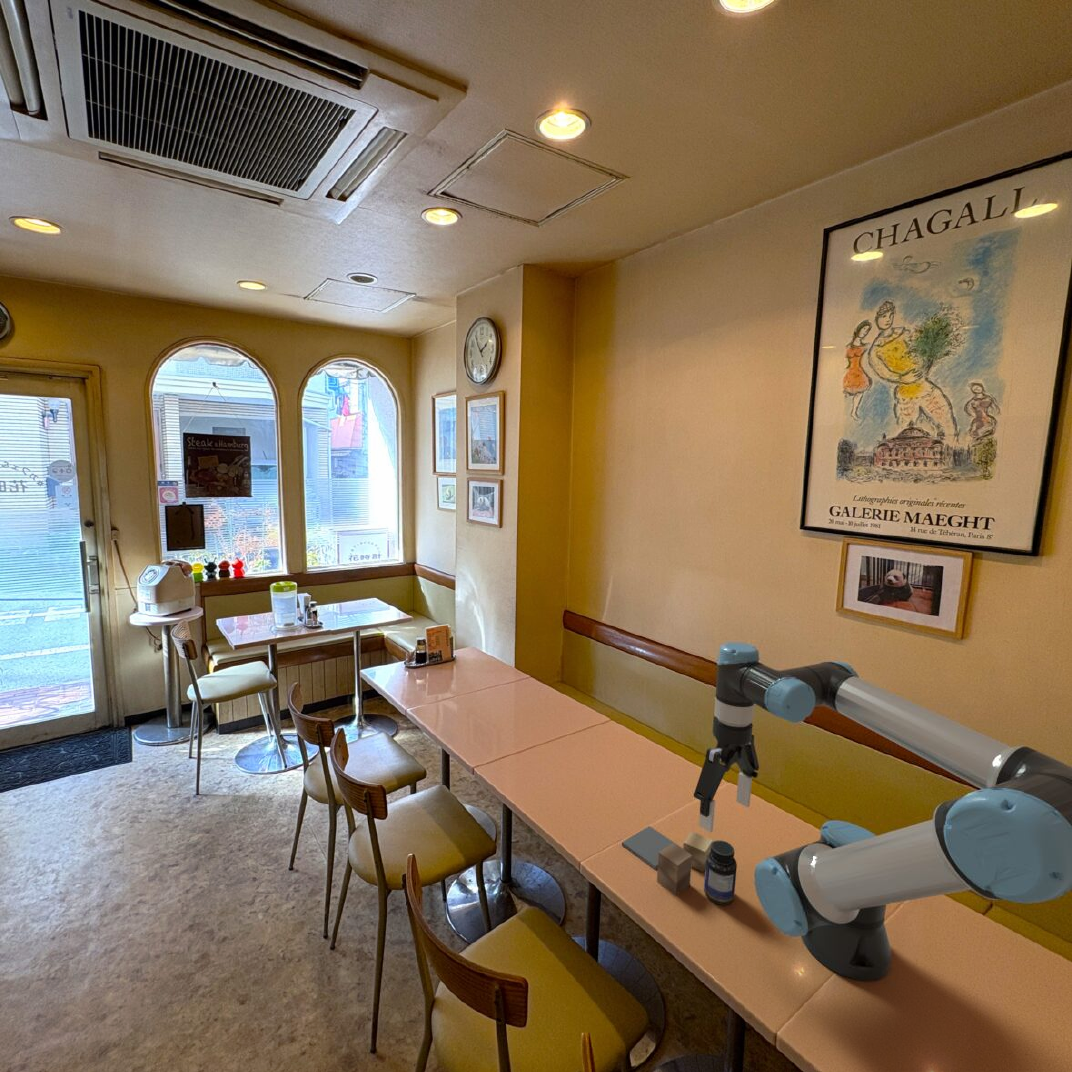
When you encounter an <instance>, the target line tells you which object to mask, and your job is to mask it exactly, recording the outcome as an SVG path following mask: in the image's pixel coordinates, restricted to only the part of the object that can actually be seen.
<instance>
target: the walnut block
mask: <svg viewBox="0 0 1072 1072" xmlns="http://www.w3.org/2000/svg"><path fill="white" fill-rule="evenodd" d="M674 843H675V842H674ZM674 843H672V844H671V845H669V846H668V847H666V848H665V849H663V850H661V851H660V852H659V856H658V868H657V873H656V874H657V875H656V883H658V884H660V885H661V886H662V887H664V888H665V889H666V890H667V891H670V893H672V894H673V895H674V896H677V895H678V894H680V893H681V892H682V891H683V890H685V889H687V888H688V887H689V886H690V885H691V875H692V866H691V864H692V855H691V854H689V853H688V852H686V851H685V850H683V849H682V848H683V847H682V848H680V847H681V846H680V845H679V846H680V847H679V846H677V845H678V844H677V843H676V844H677V845H676V844H674Z"/></svg>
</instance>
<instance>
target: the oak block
mask: <svg viewBox="0 0 1072 1072" xmlns="http://www.w3.org/2000/svg"><path fill="white" fill-rule="evenodd" d="M712 842H714V840H713V839H711V838H709V837H706V836H704V835H702V834H699V833H697V832H694V831H690V833H689V834H688V836H687V837H686V839H685V840H684V842H683V847H682V848H683V850H685V851H686V852H688V853H689V854H691V855H692V864H691V868H694V869H697V870H699V871H700V872H705V870H706V858H707V855H708V853H709V852H711V844H712Z"/></svg>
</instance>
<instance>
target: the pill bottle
mask: <svg viewBox="0 0 1072 1072" xmlns="http://www.w3.org/2000/svg"><path fill="white" fill-rule="evenodd" d="M737 866H738V864H737V861H736V859H735V848H734V846H732V844H731V843H729V842H728V841H725V840H719V839H718V840H713V842H712V844H711V852H709V853H708V855H707V858H706V869H705V871H704V872H705V873H704V883H703V890H704V893H705V896H706V898H707V899H708V900H710V901H711V902H712V903H714V904H717V905H724V906H725V905H729V904H731V903H732V902H733V900H734V899H735V891H736V880H737V868H738V867H737Z"/></svg>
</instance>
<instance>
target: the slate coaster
mask: <svg viewBox="0 0 1072 1072" xmlns="http://www.w3.org/2000/svg"><path fill="white" fill-rule="evenodd" d="M672 843H674V844H676V845H677V846H679V847H680V848H682V849H683V847H682V846H680V845H679V844H677V843H676V842H674V841H673V840H671V839H670V838H669V837H667V836H665V835H663V834H662V833H661V832H660V831H658V830H656V829H654V828H653V827H652V826H650V825H649V826H647V827H645V828H643V829H642V830H640V831H639V832H637V833H635V834H633V835H632V836H630V837H628V838H627V839H625V840H623V841H622V842H621V846H622V847H624V849H626V850H628V851H629V852H630V853H631V854H633V855H634V856H636V857H637V858H639V859H640V860H641V861H642V862H644V863H645V864H647V866H650V867H651V868H652V869H654V870H658V856H659V852H660V851H661V850H663V849H665V848H666V847H668V846H669V845H671V844H672Z"/></svg>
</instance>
